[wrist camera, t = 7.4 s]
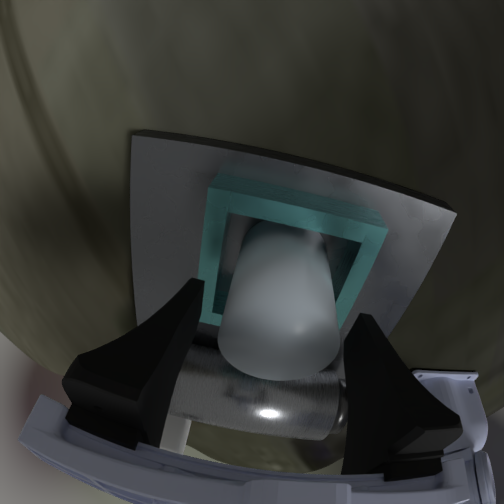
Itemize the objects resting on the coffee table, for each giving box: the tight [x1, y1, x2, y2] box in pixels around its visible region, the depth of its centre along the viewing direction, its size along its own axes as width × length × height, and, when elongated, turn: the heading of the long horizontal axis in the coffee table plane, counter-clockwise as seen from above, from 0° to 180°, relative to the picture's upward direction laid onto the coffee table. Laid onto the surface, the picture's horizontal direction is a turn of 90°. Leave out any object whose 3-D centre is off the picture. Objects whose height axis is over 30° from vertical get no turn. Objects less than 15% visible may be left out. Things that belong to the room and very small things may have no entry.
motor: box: [130, 130, 457, 440], centre depth 18 cm, size 18×20×7 cm
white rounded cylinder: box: [218, 220, 340, 381], centre depth 14 cm, size 5×5×6 cm
